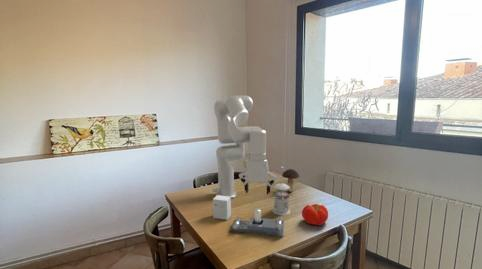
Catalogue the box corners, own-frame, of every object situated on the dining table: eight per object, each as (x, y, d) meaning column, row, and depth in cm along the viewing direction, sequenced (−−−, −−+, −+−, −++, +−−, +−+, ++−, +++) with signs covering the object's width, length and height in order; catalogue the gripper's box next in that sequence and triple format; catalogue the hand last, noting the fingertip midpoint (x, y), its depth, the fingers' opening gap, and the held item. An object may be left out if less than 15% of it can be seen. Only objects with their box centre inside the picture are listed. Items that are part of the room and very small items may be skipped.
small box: (231, 215, 142) (231, 196, 140) (227, 220, 136) (227, 200, 135) (217, 213, 144) (216, 194, 142) (213, 218, 139) (212, 198, 137)
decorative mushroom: (301, 190, 175) (301, 168, 172) (295, 196, 166) (296, 172, 163) (285, 187, 181) (285, 165, 178) (278, 192, 171) (279, 170, 169)
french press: (270, 213, 143) (270, 168, 139) (275, 204, 154) (275, 162, 150) (288, 216, 140) (289, 169, 136) (292, 207, 151) (293, 163, 146)
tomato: (306, 229, 126) (306, 212, 125) (299, 217, 139) (299, 201, 137) (332, 228, 127) (333, 211, 126) (323, 216, 139) (324, 200, 138)
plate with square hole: (230, 232, 125) (230, 221, 124) (235, 223, 133) (234, 212, 132) (283, 237, 120) (283, 226, 119) (283, 227, 129) (284, 216, 128)
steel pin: (254, 231, 126) (254, 211, 124) (255, 228, 128) (254, 208, 127) (260, 231, 125) (260, 211, 123) (261, 228, 128) (261, 208, 126)
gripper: (237, 158, 119) (237, 194, 122) (276, 160, 115) (275, 197, 119) (240, 153, 126) (240, 188, 129) (277, 155, 123) (276, 190, 126)
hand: (257, 192), depth 124 cm, fingers open, 9 cm apart
